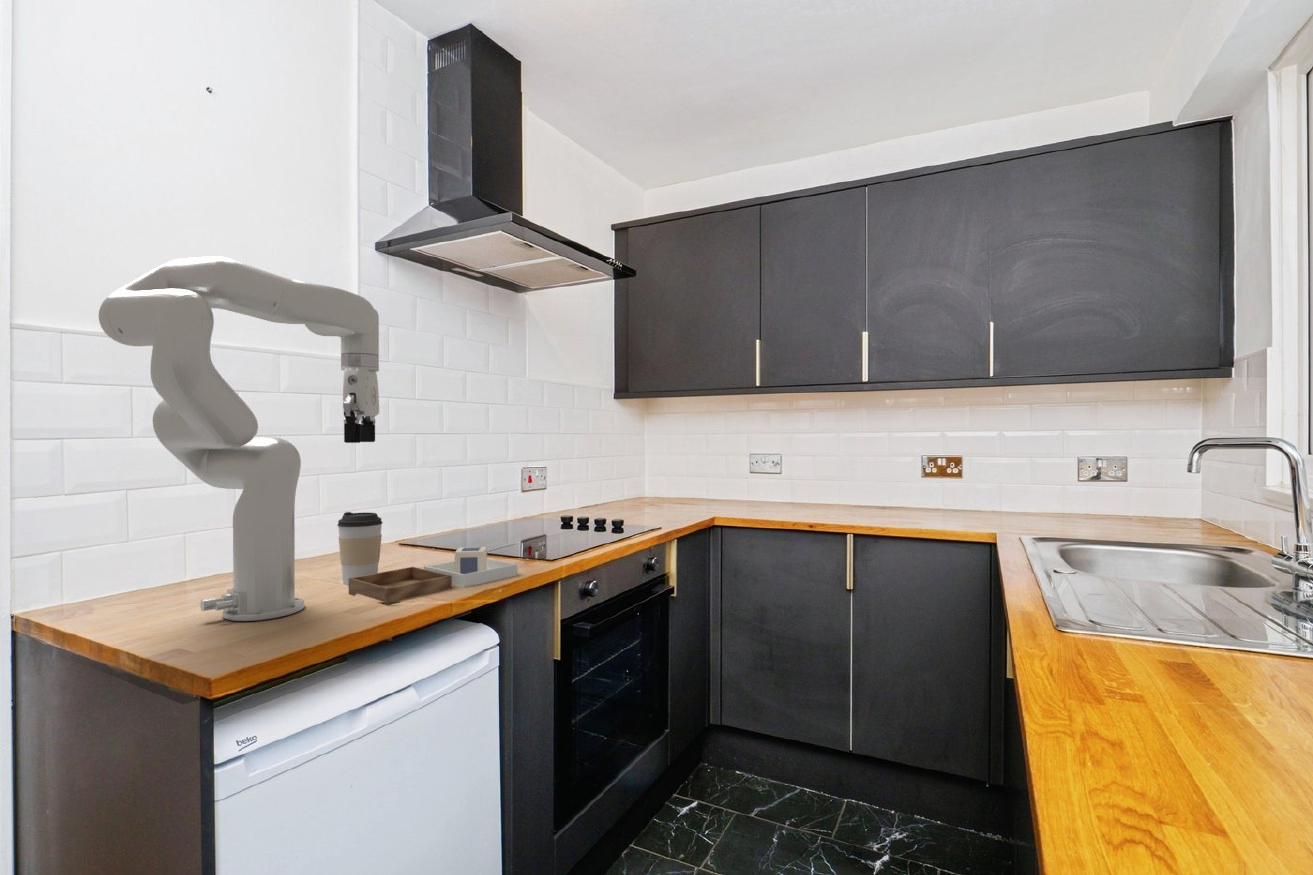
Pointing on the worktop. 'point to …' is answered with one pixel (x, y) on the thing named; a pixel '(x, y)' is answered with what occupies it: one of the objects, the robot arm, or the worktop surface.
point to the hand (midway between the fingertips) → (360, 442)
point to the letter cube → (470, 559)
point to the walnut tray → (399, 584)
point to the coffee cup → (359, 544)
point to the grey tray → (492, 573)
